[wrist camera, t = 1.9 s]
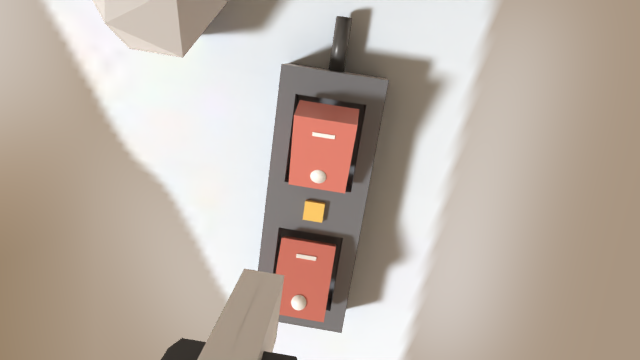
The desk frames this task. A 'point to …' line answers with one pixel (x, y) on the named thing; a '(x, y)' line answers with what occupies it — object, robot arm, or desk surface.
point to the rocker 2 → (305, 277)
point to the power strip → (315, 204)
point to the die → (159, 22)
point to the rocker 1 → (322, 145)
